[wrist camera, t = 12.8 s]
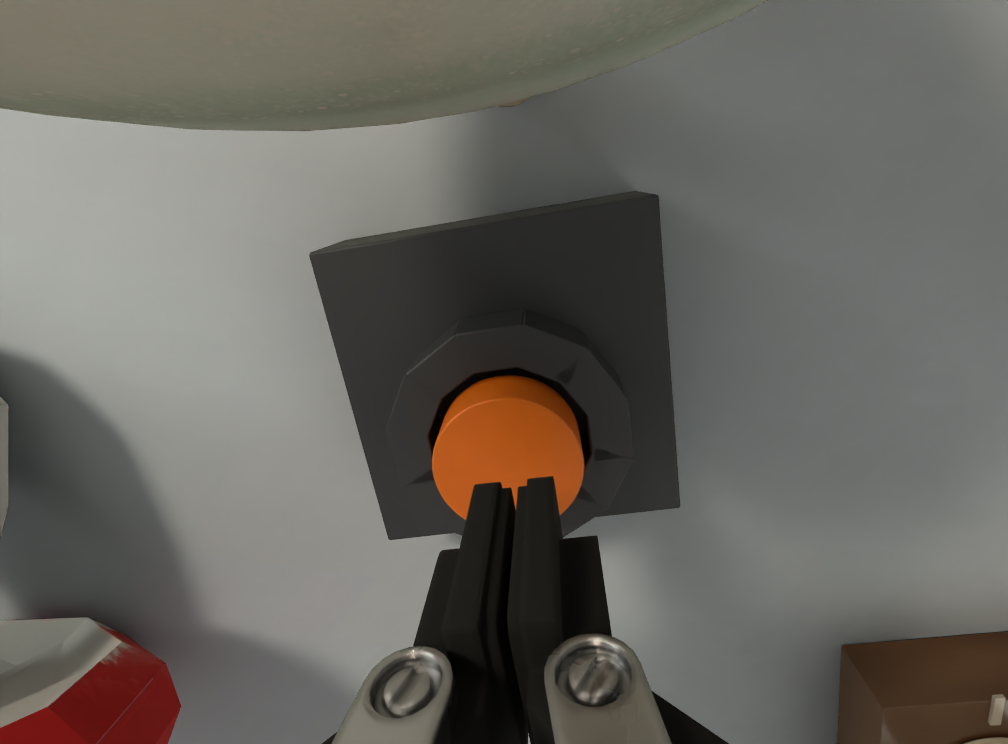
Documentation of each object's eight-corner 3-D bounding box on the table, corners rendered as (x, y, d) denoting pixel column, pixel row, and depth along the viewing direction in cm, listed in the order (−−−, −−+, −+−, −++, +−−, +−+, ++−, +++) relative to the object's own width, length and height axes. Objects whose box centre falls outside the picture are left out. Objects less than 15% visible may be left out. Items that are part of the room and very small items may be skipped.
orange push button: (570, 365, 15) (574, 388, 14) (586, 490, 16) (592, 525, 15) (429, 384, 16) (416, 409, 14) (456, 505, 17) (447, 541, 15)
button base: (637, 190, 18) (675, 196, 13) (659, 460, 21) (696, 543, 16) (343, 240, 19) (280, 262, 14) (407, 491, 22) (374, 576, 17)
